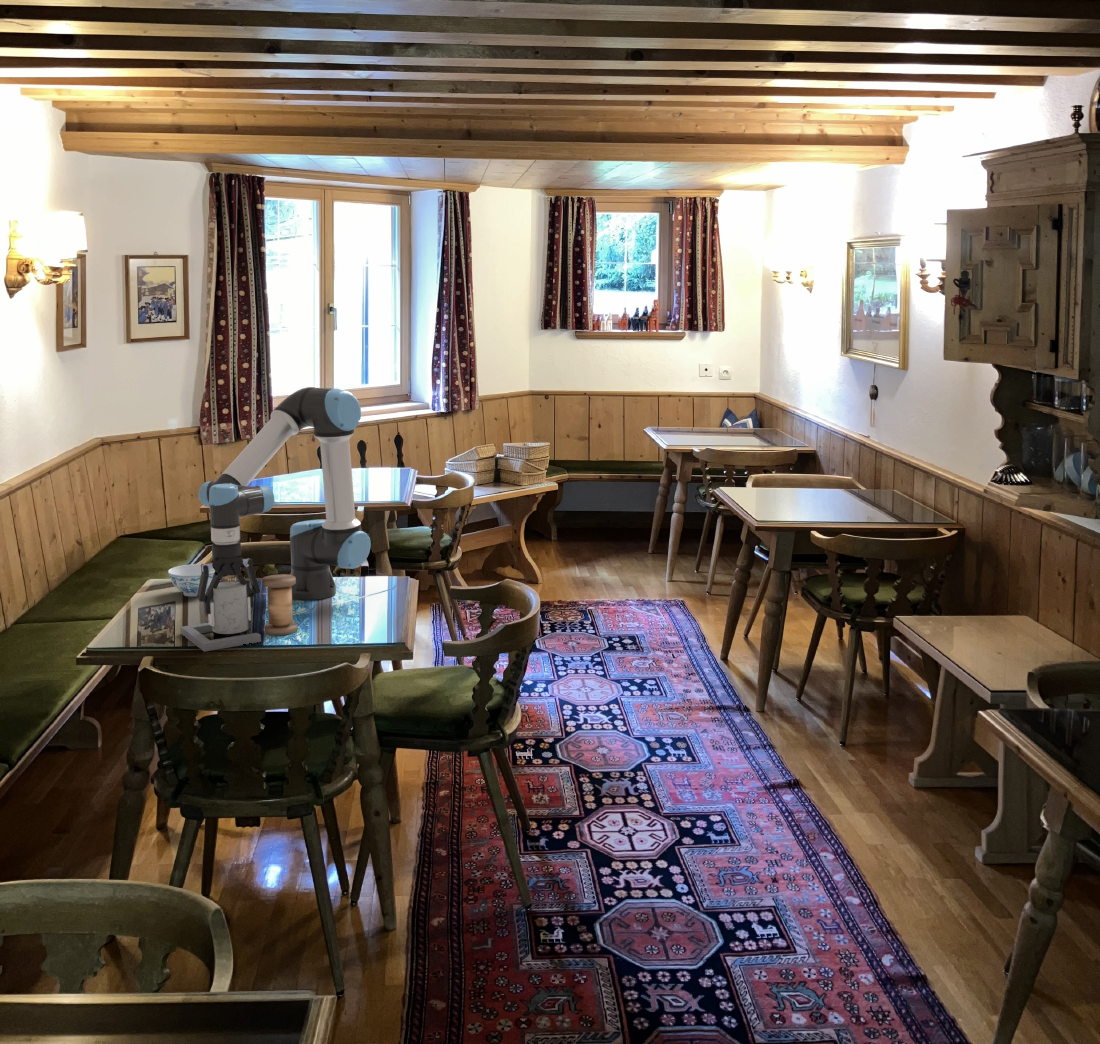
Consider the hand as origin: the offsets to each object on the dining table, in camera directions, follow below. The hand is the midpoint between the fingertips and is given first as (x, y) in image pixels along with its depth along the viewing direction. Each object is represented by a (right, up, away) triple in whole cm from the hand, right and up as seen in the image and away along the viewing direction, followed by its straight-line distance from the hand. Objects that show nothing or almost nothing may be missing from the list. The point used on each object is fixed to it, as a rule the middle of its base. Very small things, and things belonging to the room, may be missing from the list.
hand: (230, 622), depth 316 cm
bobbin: (+12, -3, +6) cm, 14 cm away
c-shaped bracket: (-2, -4, -1) cm, 5 cm away
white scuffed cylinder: (0, -2, 0) cm, 2 cm away
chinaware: (-23, +5, +44) cm, 50 cm away
